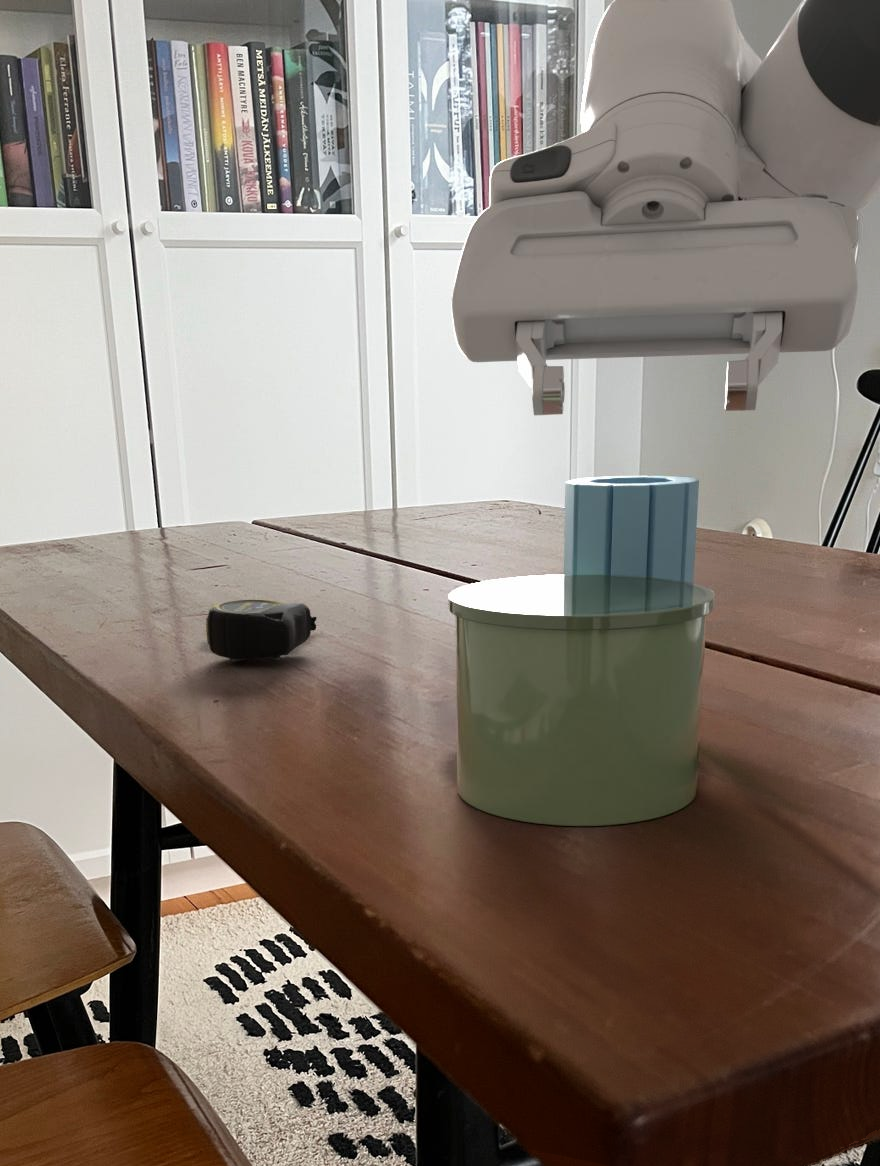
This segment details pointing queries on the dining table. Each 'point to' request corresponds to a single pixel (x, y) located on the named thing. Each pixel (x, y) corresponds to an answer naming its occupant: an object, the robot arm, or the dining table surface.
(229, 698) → the dining table surface
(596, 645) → the pot
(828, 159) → the robot arm
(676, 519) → the blue grooved hollow cylinder
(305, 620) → the tape measure
